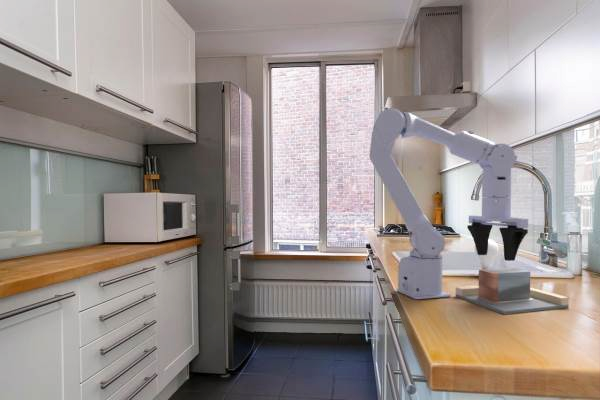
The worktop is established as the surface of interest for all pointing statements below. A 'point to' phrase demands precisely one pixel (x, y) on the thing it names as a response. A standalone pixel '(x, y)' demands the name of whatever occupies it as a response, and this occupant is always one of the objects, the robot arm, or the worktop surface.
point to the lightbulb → (489, 255)
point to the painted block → (504, 284)
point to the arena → (515, 301)
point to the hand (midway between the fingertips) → (495, 257)
